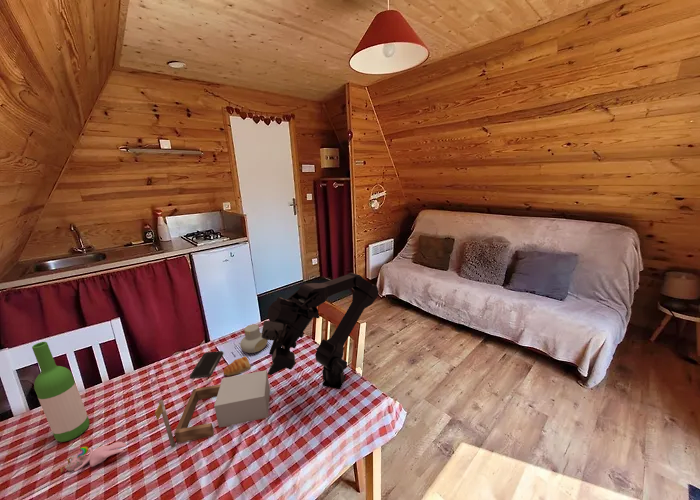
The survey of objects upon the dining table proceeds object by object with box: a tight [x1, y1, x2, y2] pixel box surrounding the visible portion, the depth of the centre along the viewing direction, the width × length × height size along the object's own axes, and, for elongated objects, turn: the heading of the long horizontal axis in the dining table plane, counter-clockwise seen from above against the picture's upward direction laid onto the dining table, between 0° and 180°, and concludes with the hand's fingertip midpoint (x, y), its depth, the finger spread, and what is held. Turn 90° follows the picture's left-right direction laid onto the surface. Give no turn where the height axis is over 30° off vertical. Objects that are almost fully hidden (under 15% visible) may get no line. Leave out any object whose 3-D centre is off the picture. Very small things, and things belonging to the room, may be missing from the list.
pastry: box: [223, 355, 251, 377], centre depth 111 cm, size 9×7×4 cm
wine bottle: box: [31, 341, 90, 443], centre depth 84 cm, size 8×8×30 cm
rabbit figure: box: [59, 441, 127, 474], centre depth 78 cm, size 6×6×15 cm
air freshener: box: [239, 323, 269, 354], centre depth 123 cm, size 11×8×10 cm
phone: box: [189, 350, 224, 380], centre depth 116 cm, size 8×1×15 cm
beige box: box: [213, 369, 271, 429], centre depth 93 cm, size 14×12×8 cm
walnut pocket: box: [154, 383, 221, 449], centre depth 87 cm, size 11×21×15 cm, turn 11°
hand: (269, 363), depth 91 cm, fingers open, 9 cm apart
